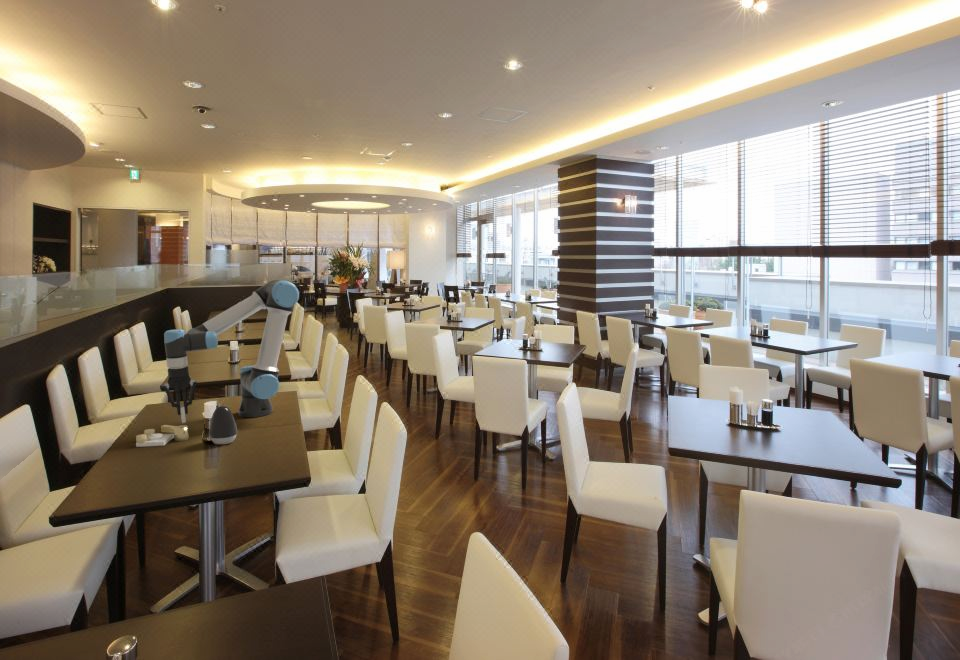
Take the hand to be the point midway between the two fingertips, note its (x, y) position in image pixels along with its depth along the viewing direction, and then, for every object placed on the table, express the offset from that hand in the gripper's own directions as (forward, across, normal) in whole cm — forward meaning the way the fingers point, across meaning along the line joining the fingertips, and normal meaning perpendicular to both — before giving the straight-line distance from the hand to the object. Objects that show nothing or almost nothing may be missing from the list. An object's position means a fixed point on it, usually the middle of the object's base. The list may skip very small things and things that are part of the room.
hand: (183, 421), depth 227 cm
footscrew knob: (+5, +4, +6) cm, 9 cm away
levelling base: (+5, +10, +6) cm, 13 cm away
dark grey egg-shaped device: (+6, -13, +21) cm, 25 cm away
